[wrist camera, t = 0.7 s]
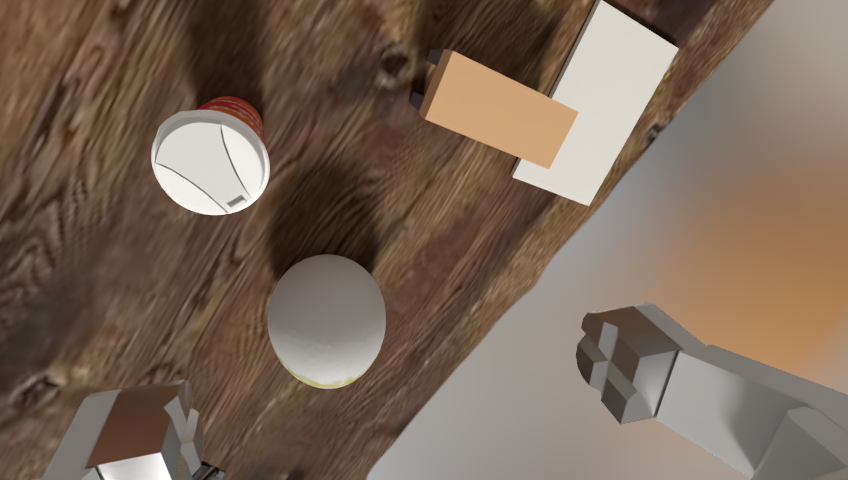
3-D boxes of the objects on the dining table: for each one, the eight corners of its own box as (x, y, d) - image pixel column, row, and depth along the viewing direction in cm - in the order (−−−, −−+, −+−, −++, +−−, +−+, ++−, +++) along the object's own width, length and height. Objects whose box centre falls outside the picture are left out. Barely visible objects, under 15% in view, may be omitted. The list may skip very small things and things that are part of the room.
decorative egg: (268, 329, 54) (261, 430, 41) (271, 237, 49) (264, 318, 36) (369, 327, 58) (392, 419, 45) (381, 242, 53) (411, 317, 40)
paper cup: (290, 140, 45) (291, 187, 33) (224, 178, 45) (200, 240, 33) (240, 66, 41) (219, 89, 29) (167, 109, 41) (116, 149, 29)
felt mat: (596, -1, 47) (601, -1, 46) (673, 48, 51) (678, 48, 51) (509, 174, 53) (512, 177, 52) (585, 203, 58) (588, 206, 57)
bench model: (404, 103, 46) (425, 119, 39) (427, 44, 44) (453, 50, 37) (514, 148, 52) (548, 169, 45) (539, 98, 50) (579, 112, 43)
